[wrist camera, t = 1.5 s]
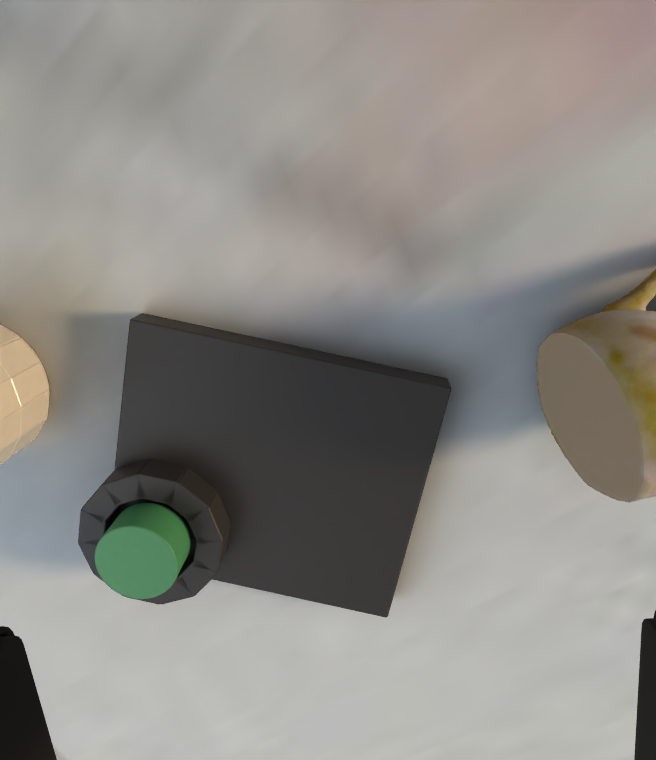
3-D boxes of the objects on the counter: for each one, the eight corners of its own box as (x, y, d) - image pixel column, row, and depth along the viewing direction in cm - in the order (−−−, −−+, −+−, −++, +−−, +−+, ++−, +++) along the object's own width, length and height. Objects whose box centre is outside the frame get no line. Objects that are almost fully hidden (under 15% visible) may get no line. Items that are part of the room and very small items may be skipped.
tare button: (110, 562, 29) (90, 590, 27) (117, 494, 28) (97, 517, 26) (186, 579, 29) (172, 607, 27) (196, 511, 28) (182, 536, 26)
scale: (100, 550, 32) (73, 586, 29) (125, 308, 28) (96, 323, 25) (383, 612, 32) (384, 654, 29) (448, 378, 28) (456, 400, 25)
